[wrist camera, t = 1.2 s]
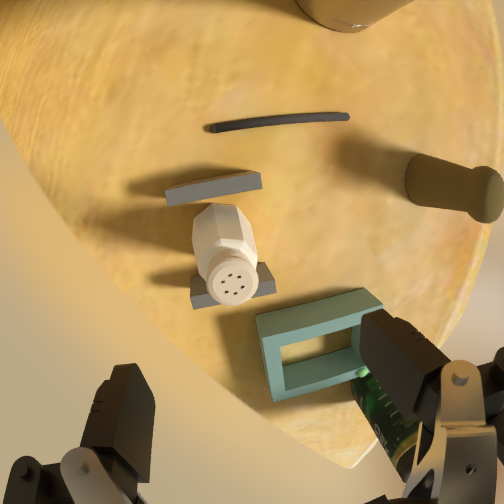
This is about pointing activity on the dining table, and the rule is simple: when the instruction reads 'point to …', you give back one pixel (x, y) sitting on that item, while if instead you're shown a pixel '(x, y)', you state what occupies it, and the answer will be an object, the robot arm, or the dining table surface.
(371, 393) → the coffee jar
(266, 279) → the pair of grey blocks
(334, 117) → the thin black rod
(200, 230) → the pepper shaker
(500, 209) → the pepper shaker
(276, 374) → the frame
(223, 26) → the dining table surface
